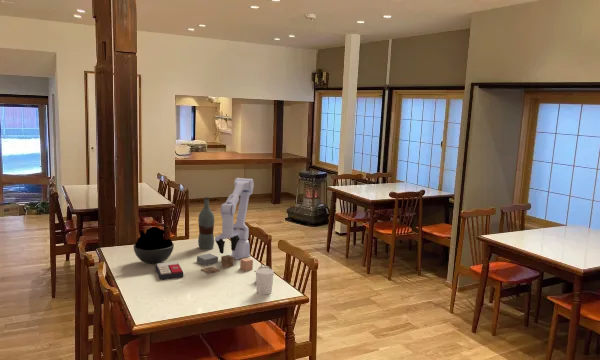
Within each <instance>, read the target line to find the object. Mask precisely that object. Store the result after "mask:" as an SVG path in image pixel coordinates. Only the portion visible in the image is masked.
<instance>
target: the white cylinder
mask: <svg viewBox="0 0 600 360" xmlns="http://www.w3.org/2000/svg"><path fill="white" fill-rule="evenodd" d="M255 271H256V272H255V282H256V283H255V285H256V293H257V294H259V295H261V294H262V295H263V296H266V295H267V294H268V295H270V294H272V290H273V284H274V275H273V274H274V273H275V272H274V270H273V269H271V268H270V269H269V268H260V269H256V270H255Z"/></svg>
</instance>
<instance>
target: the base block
mask: <svg viewBox="0 0 600 360" xmlns="http://www.w3.org/2000/svg"><path fill="white" fill-rule="evenodd" d="M196 263H198V264H201V265H203V266H210V265H215V264H218V263H219V256H217V255H215V254H212V253H205V254H200V255H197V256H196Z"/></svg>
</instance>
